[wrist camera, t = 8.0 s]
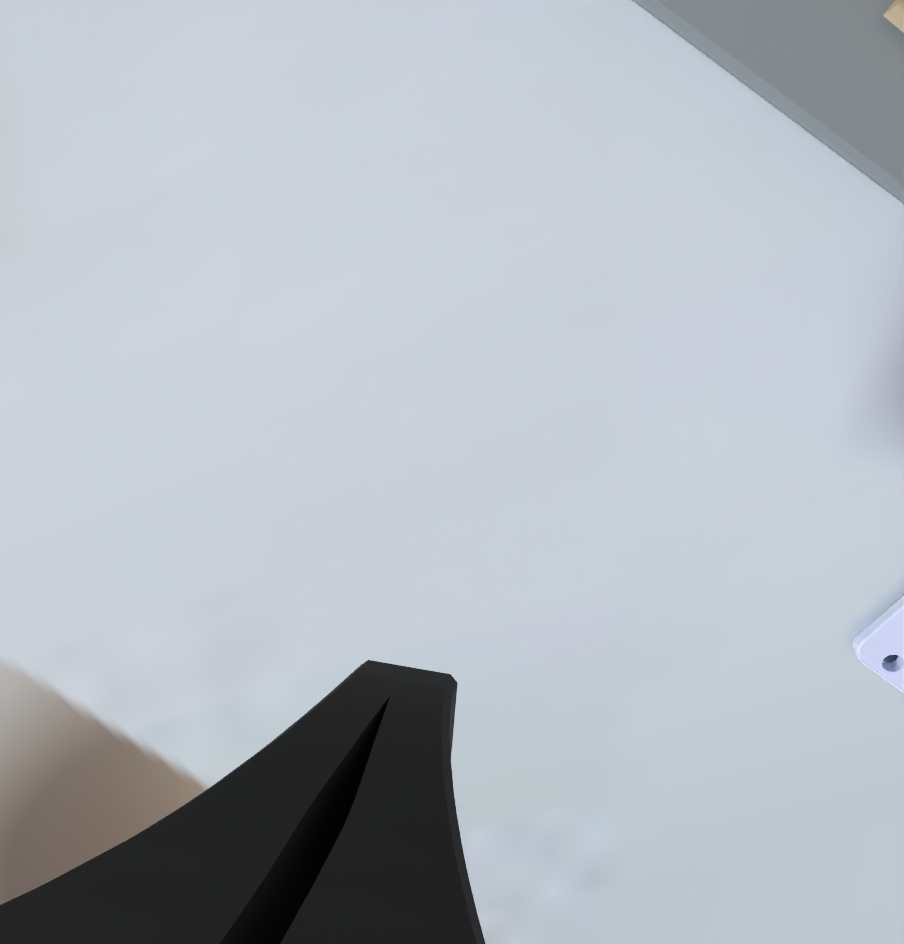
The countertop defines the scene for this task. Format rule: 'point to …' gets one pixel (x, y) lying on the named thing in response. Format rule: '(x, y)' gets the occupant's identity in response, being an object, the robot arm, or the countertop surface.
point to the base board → (812, 68)
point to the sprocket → (896, 14)
